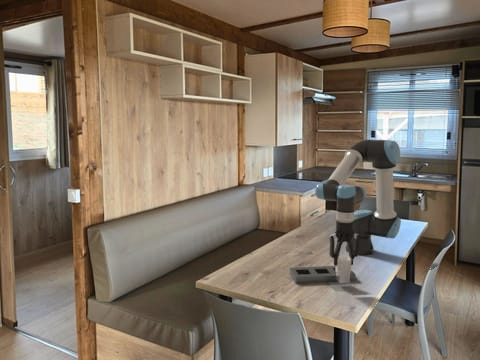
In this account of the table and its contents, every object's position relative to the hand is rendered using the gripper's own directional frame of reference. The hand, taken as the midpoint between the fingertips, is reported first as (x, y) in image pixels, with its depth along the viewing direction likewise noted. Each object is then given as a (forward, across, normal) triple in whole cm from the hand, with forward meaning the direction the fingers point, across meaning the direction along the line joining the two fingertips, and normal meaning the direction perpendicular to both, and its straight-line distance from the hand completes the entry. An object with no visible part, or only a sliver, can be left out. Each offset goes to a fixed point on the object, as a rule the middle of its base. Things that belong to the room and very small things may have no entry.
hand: (343, 272), depth 183 cm
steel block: (+4, 0, 0) cm, 4 cm away
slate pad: (+8, 0, 0) cm, 8 cm away
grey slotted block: (+8, -6, +11) cm, 15 cm away
